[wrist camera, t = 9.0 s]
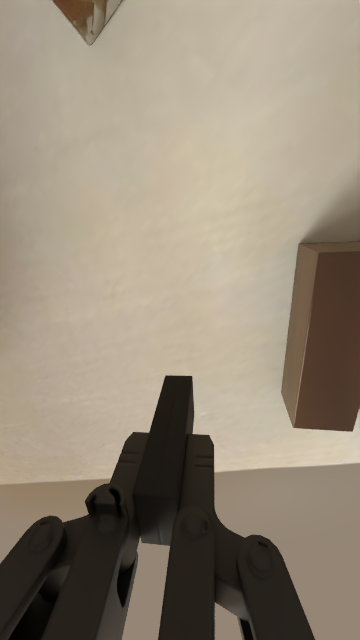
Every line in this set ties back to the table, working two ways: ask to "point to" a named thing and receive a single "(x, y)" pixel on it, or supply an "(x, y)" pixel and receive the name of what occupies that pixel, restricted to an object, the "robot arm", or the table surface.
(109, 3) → the coffee box
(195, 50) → the table surface
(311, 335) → the walnut bar
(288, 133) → the table surface
